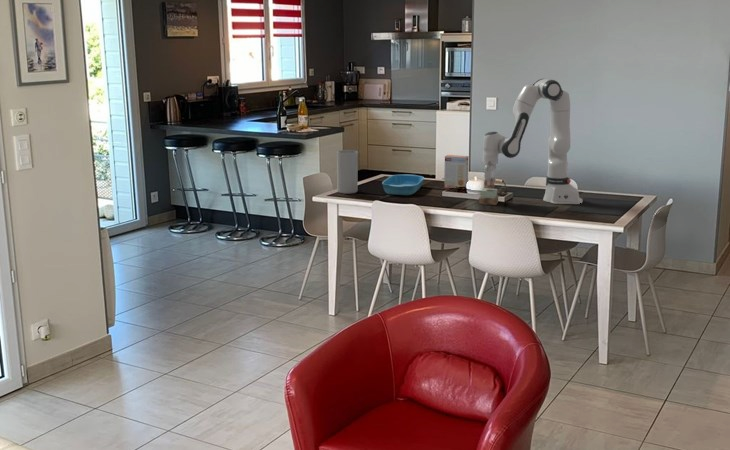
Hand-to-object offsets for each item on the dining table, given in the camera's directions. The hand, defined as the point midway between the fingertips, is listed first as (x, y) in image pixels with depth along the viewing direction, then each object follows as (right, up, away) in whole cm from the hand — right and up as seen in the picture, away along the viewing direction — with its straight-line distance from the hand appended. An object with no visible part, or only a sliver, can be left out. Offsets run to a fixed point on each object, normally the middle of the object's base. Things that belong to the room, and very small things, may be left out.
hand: (489, 184), depth 461 cm
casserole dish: (-48, -2, +37) cm, 61 cm away
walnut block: (0, -11, +3) cm, 12 cm away
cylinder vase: (-83, -3, +33) cm, 89 cm away
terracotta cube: (0, -2, 0) cm, 2 cm away
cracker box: (-15, -1, +42) cm, 45 cm away
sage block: (0, -7, +2) cm, 8 cm away
